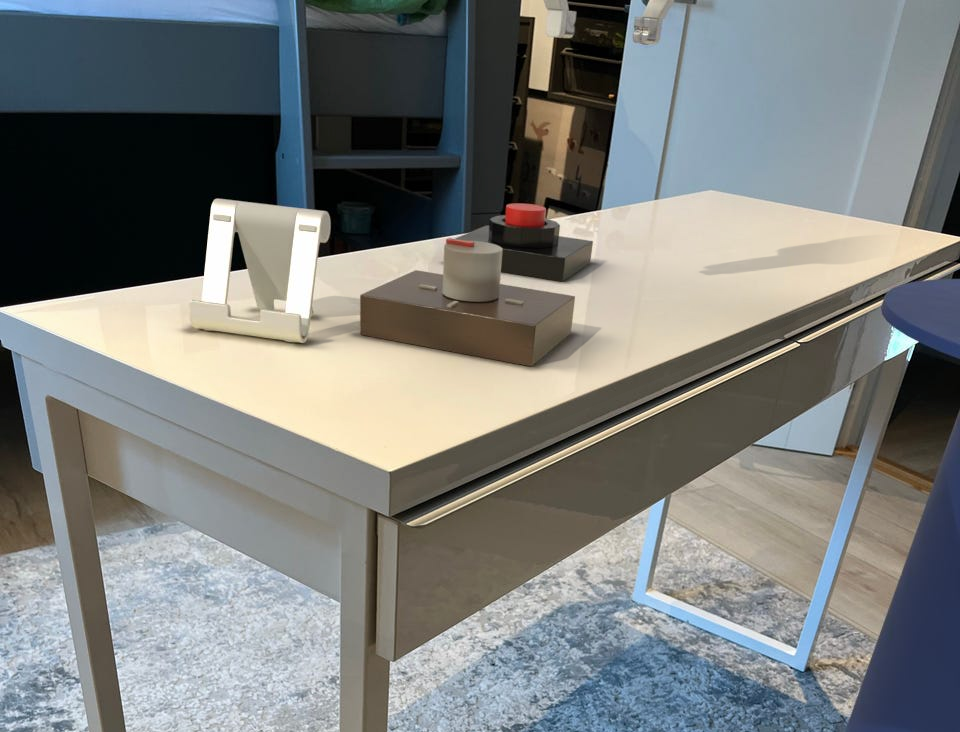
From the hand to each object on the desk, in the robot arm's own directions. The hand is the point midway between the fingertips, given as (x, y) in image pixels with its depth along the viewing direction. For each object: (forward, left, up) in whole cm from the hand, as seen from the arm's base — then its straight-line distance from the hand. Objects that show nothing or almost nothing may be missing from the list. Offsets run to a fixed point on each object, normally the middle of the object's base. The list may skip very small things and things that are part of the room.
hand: (603, 40), depth 76 cm
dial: (+4, +16, -17) cm, 24 cm away
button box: (+9, -11, -20) cm, 24 cm away
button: (+9, -11, -16) cm, 22 cm away
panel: (+4, +16, -20) cm, 26 cm away
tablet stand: (+18, +23, -20) cm, 36 cm away
